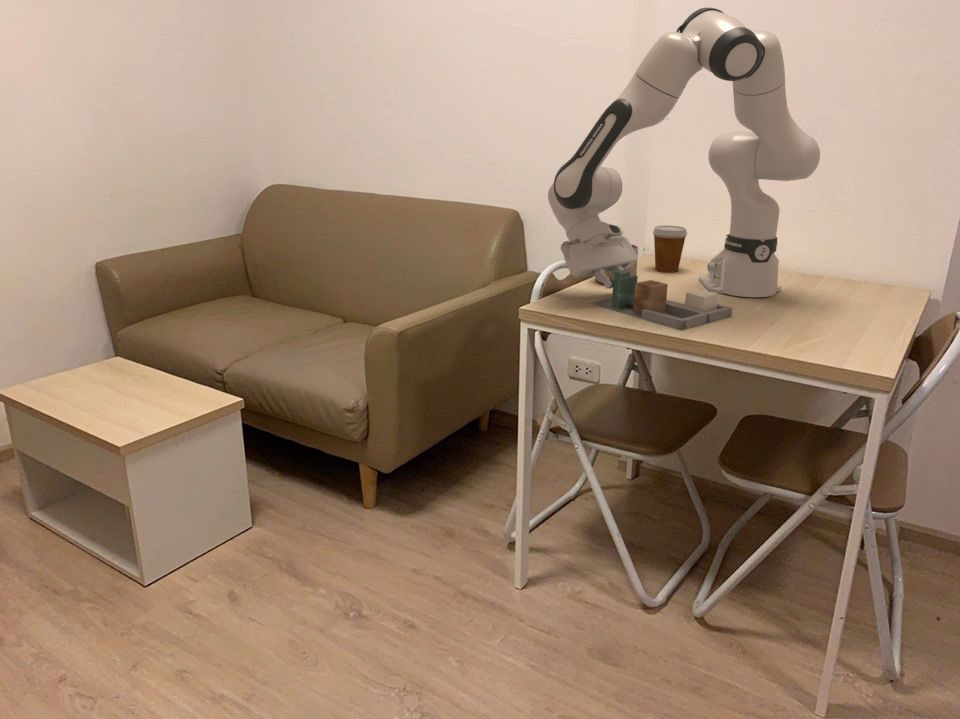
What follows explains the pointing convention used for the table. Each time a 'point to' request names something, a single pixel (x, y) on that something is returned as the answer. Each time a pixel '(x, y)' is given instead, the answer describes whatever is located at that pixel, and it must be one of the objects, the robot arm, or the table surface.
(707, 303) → the cream block
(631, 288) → the toy blocks
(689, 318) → the board
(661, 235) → the disposable coffee cup
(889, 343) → the table surface
